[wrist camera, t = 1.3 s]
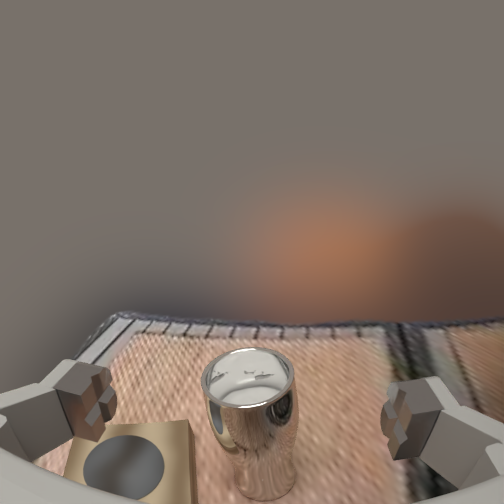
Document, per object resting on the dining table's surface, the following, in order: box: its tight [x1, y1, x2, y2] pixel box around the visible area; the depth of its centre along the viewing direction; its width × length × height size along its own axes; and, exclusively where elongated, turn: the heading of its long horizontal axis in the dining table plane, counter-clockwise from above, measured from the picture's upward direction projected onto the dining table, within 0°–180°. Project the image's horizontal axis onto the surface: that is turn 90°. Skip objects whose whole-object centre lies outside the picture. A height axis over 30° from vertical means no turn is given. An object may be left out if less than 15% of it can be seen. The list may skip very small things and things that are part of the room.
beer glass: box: [201, 347, 299, 501], centre depth 24 cm, size 7×7×15 cm
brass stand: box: [63, 420, 198, 504], centre depth 25 cm, size 14×13×3 cm
